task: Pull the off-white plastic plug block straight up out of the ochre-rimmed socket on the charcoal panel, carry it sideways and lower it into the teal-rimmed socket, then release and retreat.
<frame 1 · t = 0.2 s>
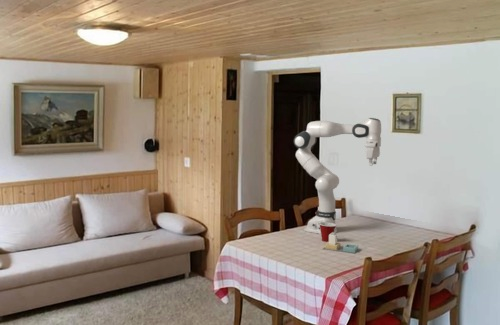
hand: (372, 164, 333), 48 cm above the table, fingers open, 8 cm apart
plastic cup: (327, 242, 326), on the table
plug: (332, 247, 310), point 1 cm above the table, touching panel
panel: (341, 250, 307), on the table
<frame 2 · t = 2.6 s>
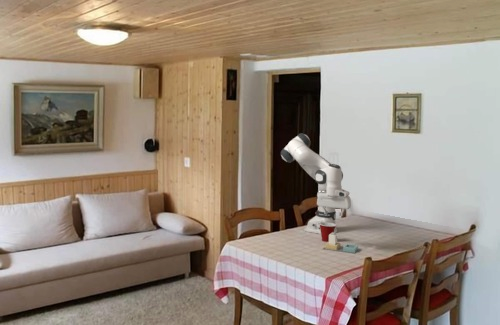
hand: (333, 214, 307), 21 cm above the table, fingers open, 8 cm apart
nothing on the table moved.
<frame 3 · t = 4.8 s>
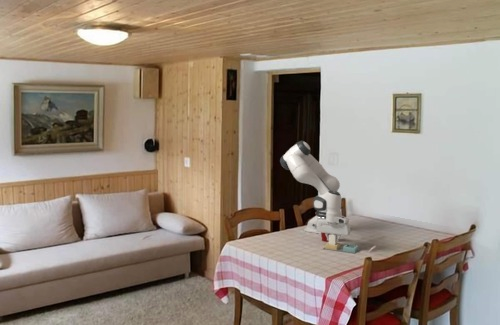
hand: (333, 241, 309), 5 cm above the table, fingers closed on plug, 4 cm apart
plug: (332, 247, 310), point 1 cm above the table, touching gripper, panel
everything else where it was.
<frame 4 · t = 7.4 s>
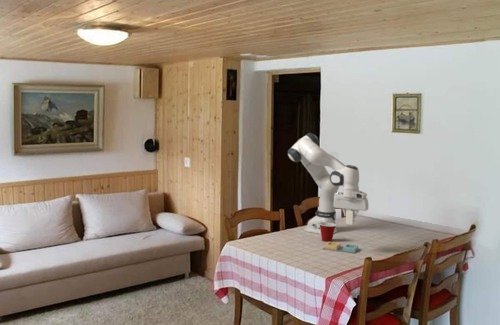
hand: (350, 216, 302), 21 cm above the table, fingers closed on plug, 4 cm apart
plug: (350, 223, 302), point 17 cm above the table, touching gripper
everything else where it was.
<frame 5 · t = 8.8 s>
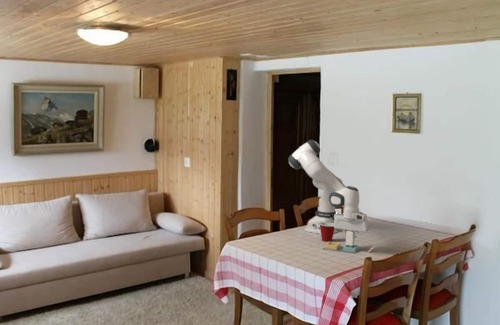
hand: (350, 237, 303), 9 cm above the table, fingers closed on plug, 4 cm apart
plug: (350, 244, 304), point 5 cm above the table, touching gripper
everything else where it was.
when the fingers open (5 cm above the table, at t = 9.9 s): plug stays where it is, resting on panel.
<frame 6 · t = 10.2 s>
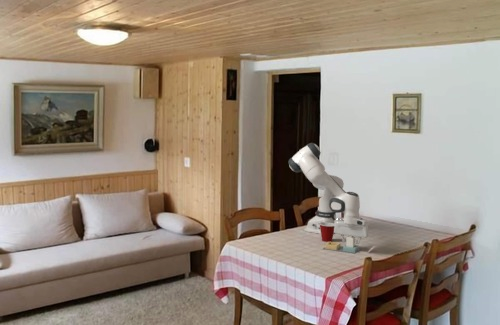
hand: (350, 242, 304), 5 cm above the table, fingers open, 7 cm apart
plug: (350, 250, 304), point 1 cm above the table, touching panel
everything else where it was.
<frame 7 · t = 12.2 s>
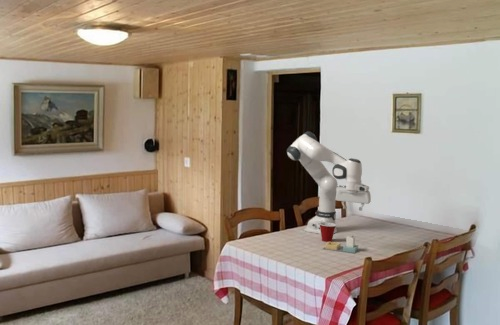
hand: (352, 209, 305), 25 cm above the table, fingers open, 8 cm apart
nothing on the table moved.
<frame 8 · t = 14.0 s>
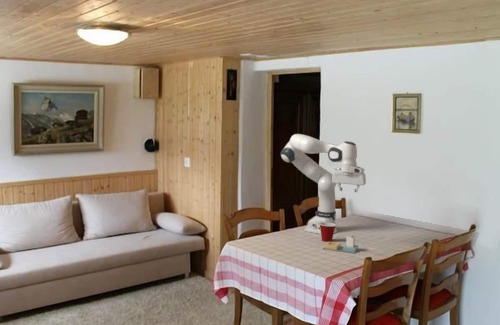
hand: (348, 191, 312), 34 cm above the table, fingers open, 8 cm apart
nothing on the table moved.
at the end: plug 0.1 cm from the target spot on the panel, point 1.0 cm above the panel's base; plug tilted 0°; the gripper is holding nothing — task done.
